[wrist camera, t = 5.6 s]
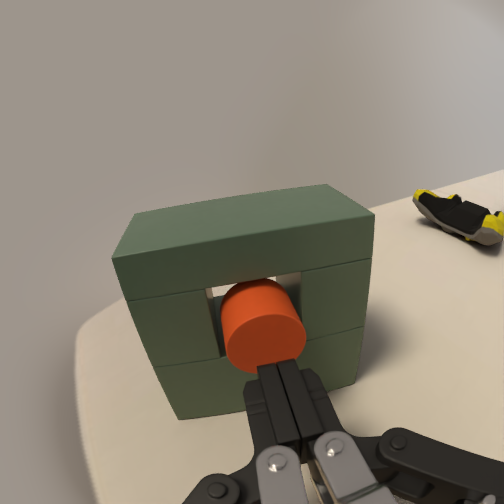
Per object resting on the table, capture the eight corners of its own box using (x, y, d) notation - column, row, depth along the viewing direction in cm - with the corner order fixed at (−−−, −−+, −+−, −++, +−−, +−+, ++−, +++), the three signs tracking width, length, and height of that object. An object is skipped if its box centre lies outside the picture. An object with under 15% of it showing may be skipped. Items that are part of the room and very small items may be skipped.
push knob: (306, 364, 14) (306, 305, 13) (232, 380, 14) (219, 322, 12) (290, 327, 17) (287, 271, 15) (225, 339, 16) (214, 284, 15)
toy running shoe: (487, 265, 29) (514, 245, 32) (497, 222, 26) (521, 208, 29) (405, 224, 42) (441, 212, 44) (407, 187, 39) (444, 180, 42)
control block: (354, 383, 19) (375, 214, 14) (178, 420, 18) (110, 257, 12) (325, 330, 24) (327, 183, 19) (177, 359, 23) (134, 213, 18)
